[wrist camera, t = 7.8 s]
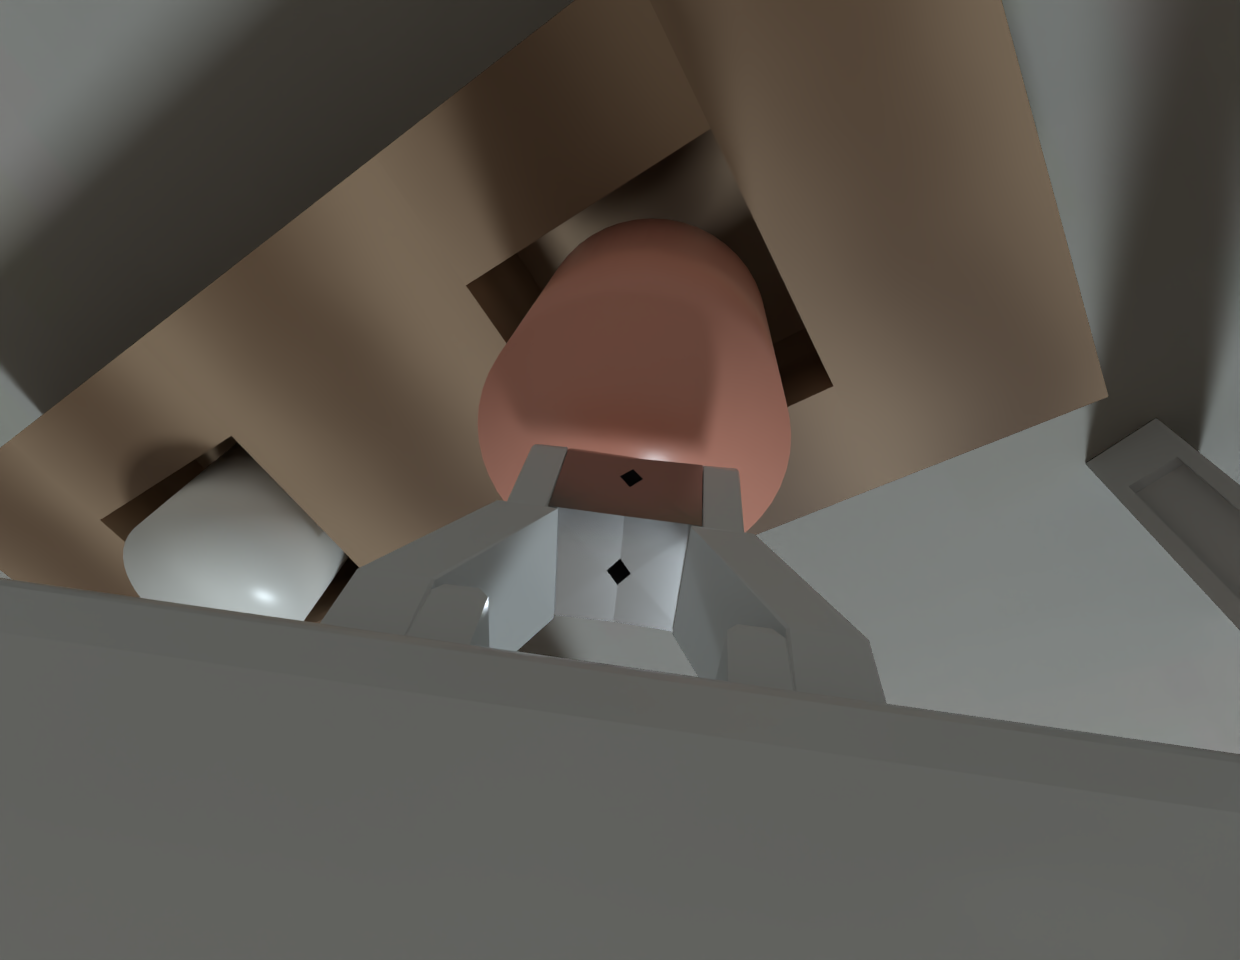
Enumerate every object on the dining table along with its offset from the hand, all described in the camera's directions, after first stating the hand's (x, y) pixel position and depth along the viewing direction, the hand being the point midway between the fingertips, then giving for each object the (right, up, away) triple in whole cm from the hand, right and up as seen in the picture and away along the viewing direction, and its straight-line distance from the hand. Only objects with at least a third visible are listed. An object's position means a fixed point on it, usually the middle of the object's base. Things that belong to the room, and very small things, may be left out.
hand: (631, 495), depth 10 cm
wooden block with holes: (-5, +3, +12) cm, 13 cm away
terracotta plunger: (+1, +3, +5) cm, 6 cm away
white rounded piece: (-11, 0, +13) cm, 17 cm away
